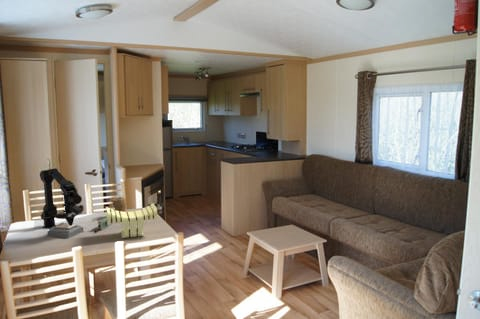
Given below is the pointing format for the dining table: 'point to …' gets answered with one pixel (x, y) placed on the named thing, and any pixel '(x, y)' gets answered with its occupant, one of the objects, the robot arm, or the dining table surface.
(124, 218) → the slatted curved stool
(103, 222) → the handheld radio
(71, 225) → the breaker switch
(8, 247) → the dining table surface
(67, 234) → the frame
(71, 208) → the robot arm
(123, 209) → the stone cup
